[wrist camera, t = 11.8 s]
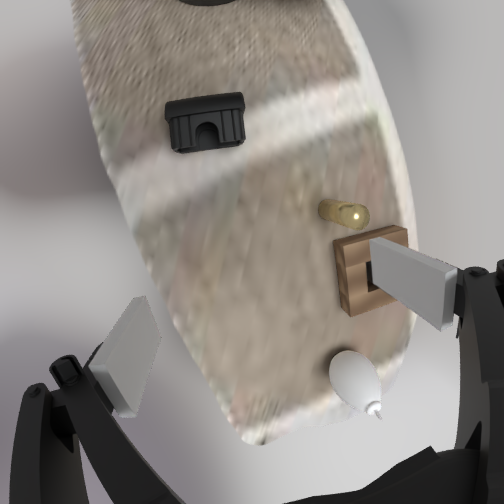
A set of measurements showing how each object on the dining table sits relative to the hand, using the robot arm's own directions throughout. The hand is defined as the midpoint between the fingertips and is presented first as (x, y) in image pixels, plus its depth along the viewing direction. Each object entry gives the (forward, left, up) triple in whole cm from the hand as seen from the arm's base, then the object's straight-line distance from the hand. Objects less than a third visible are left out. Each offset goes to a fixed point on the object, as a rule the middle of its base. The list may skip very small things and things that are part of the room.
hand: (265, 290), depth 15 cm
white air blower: (+29, +13, -27) cm, 42 cm away
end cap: (-15, -1, -27) cm, 31 cm away
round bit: (+1, +14, -27) cm, 30 cm away
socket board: (+12, +20, -27) cm, 35 cm away
